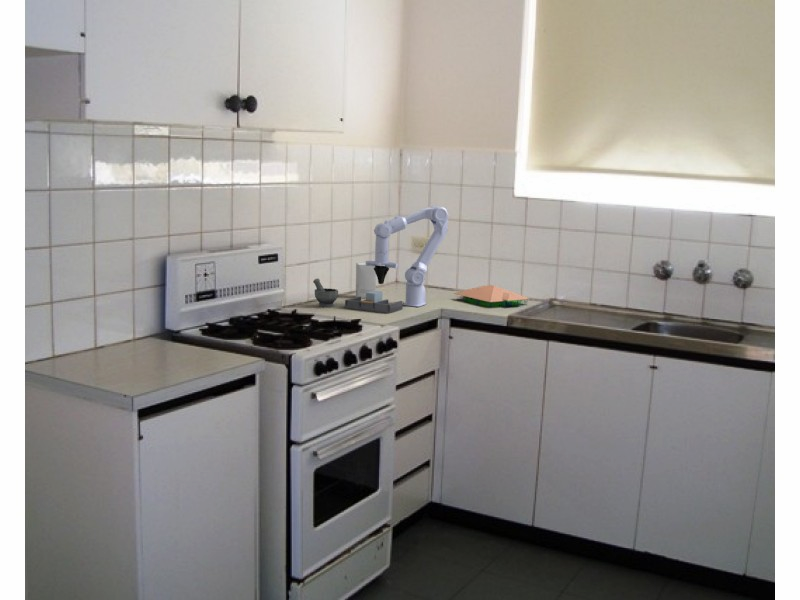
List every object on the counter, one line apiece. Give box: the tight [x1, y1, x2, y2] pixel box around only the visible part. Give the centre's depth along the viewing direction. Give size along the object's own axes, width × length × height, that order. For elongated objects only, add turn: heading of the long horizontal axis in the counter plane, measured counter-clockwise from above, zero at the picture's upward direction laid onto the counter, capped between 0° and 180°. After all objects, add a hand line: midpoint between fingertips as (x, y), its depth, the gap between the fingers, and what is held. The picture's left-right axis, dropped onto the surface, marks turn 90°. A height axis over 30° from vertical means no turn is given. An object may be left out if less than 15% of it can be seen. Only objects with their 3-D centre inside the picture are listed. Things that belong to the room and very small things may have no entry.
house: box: [453, 284, 530, 309], centre depth 379 cm, size 23×33×8 cm
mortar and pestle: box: [313, 278, 339, 308], centre depth 353 cm, size 11×9×12 cm
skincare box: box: [355, 262, 377, 299], centre depth 380 cm, size 8×7×16 cm
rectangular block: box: [365, 290, 383, 303], centre depth 351 cm, size 7×4×6 cm, turn 154°
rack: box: [344, 296, 404, 314], centre depth 351 cm, size 12×21×4 cm, turn 64°
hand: (381, 283), depth 359 cm, fingers closed
